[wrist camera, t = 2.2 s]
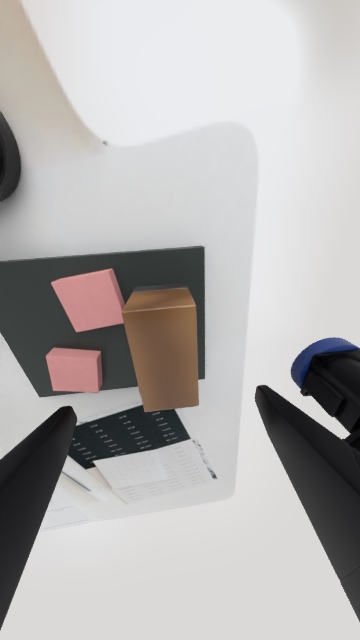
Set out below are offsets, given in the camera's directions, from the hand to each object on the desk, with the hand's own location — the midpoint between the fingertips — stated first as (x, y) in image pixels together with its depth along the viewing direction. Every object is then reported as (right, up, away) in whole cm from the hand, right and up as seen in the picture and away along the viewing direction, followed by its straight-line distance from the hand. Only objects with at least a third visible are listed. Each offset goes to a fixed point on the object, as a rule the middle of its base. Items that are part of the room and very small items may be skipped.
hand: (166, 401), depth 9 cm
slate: (-6, +3, +8) cm, 10 cm away
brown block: (-1, +3, +7) cm, 8 cm away
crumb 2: (-9, 0, +8) cm, 12 cm away
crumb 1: (-6, +6, +5) cm, 10 cm away
